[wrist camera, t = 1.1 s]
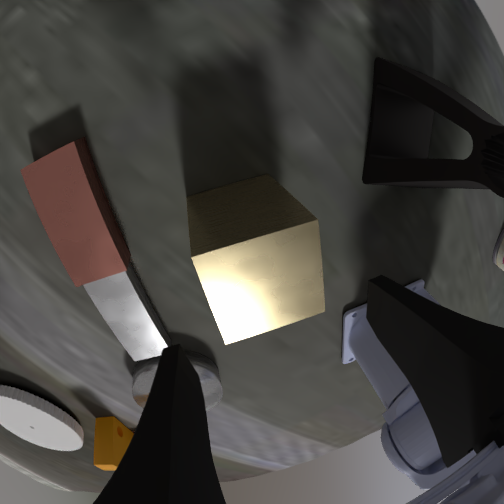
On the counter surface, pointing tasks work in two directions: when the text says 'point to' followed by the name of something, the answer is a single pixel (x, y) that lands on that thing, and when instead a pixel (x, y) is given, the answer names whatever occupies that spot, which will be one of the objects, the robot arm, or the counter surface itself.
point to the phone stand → (427, 134)
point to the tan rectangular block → (256, 256)
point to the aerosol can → (499, 252)
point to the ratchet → (104, 262)
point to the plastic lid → (38, 420)
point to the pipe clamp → (110, 442)
